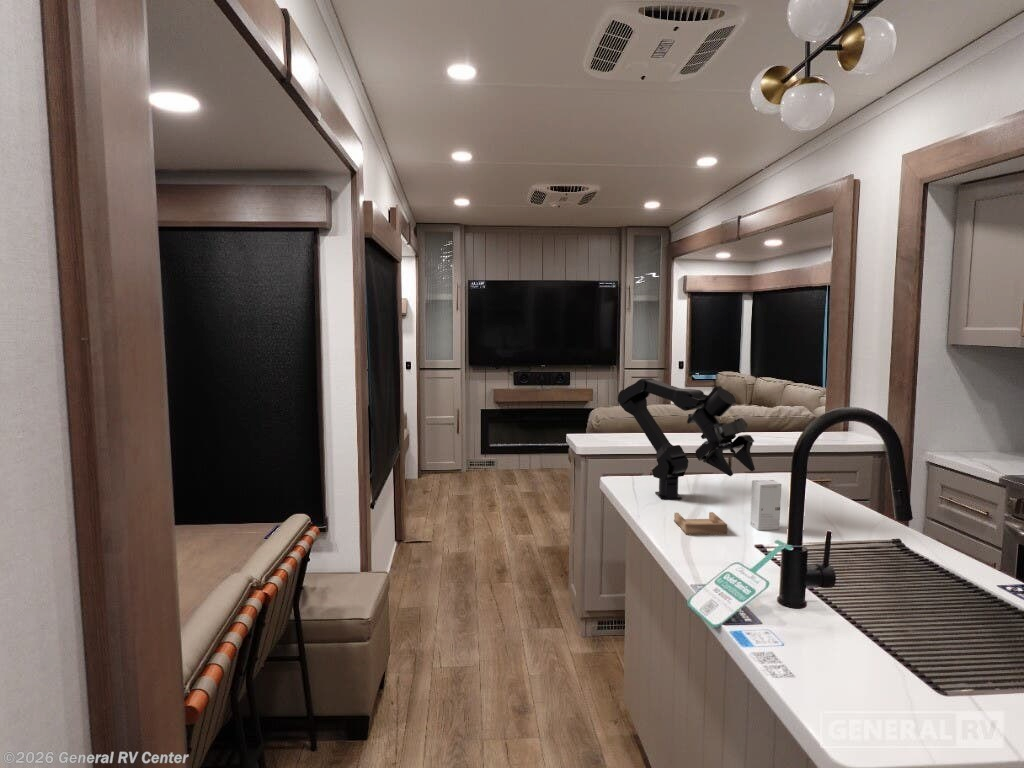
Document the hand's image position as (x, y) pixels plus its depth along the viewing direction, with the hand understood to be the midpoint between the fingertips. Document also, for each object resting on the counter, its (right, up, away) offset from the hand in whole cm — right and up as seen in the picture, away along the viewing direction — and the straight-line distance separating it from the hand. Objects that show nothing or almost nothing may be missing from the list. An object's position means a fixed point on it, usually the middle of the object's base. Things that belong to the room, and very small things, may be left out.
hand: (742, 472), depth 159 cm
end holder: (-13, -13, -5) cm, 19 cm away
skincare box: (+4, -14, -5) cm, 15 cm away
